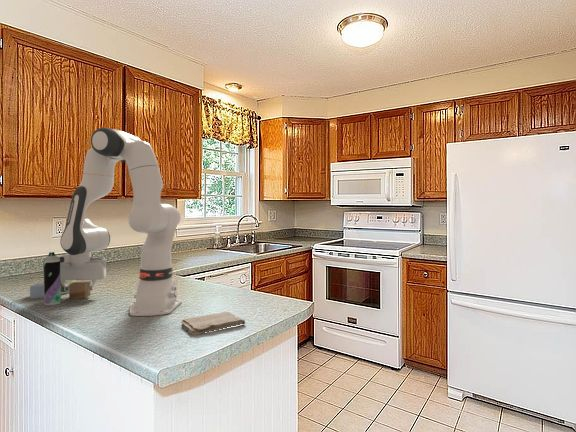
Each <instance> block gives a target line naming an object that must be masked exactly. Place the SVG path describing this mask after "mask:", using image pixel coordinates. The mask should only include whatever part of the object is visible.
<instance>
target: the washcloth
mask: <svg viewBox="0 0 576 432" xmlns="http://www.w3.org/2000/svg"><path fill="white" fill-rule="evenodd" d="M180 323H181V326H182V325H183V326H182V328H183V329H184V328H185V329H186V330H185V329H184V330H185V331H187V330H188V331H187V333H188V334H190V333H191V334H192V335H191V334H190V335H191V336H197V335H196V334H200V333H205V332H209V331H214V330H219V329H223V328H227V327H231V326H236V325H240V324H244V325H246V321H245V319H244V318H240V317H239V316H236V315H235V314H233V313H231V312H229V311H224V312H218V313H210V314H204V315H199V316H194V317H188V318H183V319H181V321H180Z"/></svg>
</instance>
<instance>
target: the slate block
mask: <svg viewBox="0 0 576 432" xmlns="http://www.w3.org/2000/svg"><path fill="white" fill-rule="evenodd" d="M29 298H30V299H40V298H44V282H42V283H40V282H39V283H32V284H31V285H30V286H29Z"/></svg>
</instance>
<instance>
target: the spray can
mask: <svg viewBox="0 0 576 432" xmlns="http://www.w3.org/2000/svg"><path fill="white" fill-rule="evenodd" d="M42 265H43V267H42V268H43V270H42V271H43V283H44V297H43V305H44V306H57V305H59V304H61V303H62V302H61V301H62V298H61V297H62V294H61V282H60V258H59V257H58V256H57V255H56V254H55V251H52V252H48V255H47V256H46V257H45V258H43V262H42Z"/></svg>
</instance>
